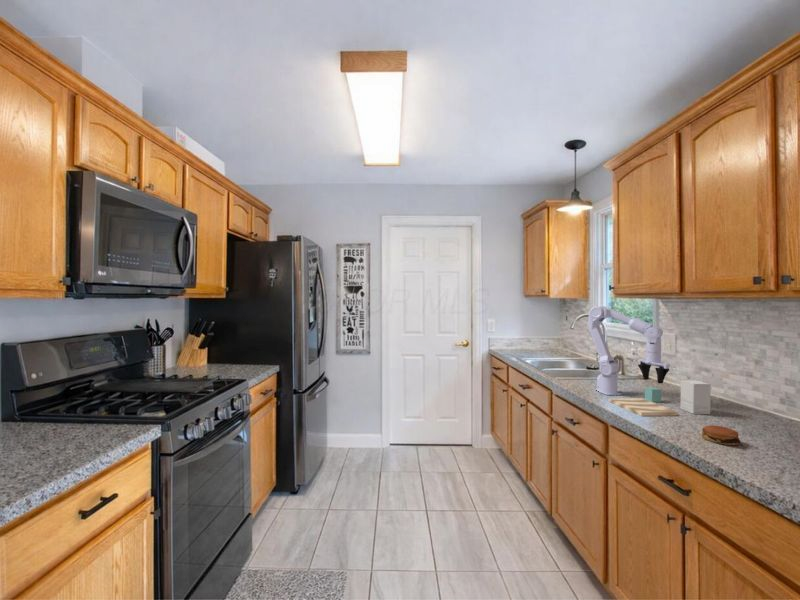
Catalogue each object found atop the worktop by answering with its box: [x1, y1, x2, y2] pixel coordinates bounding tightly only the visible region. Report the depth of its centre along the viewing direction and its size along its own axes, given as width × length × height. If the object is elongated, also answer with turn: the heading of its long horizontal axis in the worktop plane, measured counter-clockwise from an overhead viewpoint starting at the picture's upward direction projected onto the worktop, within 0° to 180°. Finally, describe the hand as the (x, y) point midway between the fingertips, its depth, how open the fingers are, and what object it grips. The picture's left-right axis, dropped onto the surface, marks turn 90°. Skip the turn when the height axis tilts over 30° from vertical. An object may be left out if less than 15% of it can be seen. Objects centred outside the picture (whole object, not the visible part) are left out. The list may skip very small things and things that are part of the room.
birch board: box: [608, 397, 679, 417], centre depth 158 cm, size 20×16×2 cm
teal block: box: [644, 386, 662, 403], centre depth 170 cm, size 4×4×6 cm
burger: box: [701, 425, 741, 446], centre depth 122 cm, size 10×9×5 cm
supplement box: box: [679, 379, 711, 415], centre depth 155 cm, size 7×7×13 cm
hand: (652, 381), depth 169 cm, fingers open, 7 cm apart
